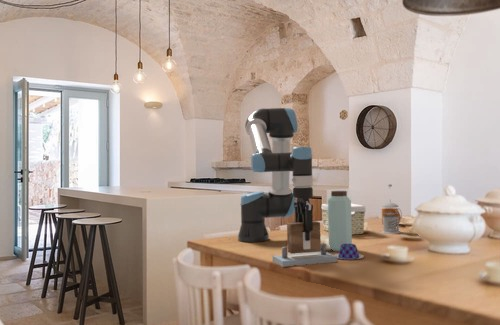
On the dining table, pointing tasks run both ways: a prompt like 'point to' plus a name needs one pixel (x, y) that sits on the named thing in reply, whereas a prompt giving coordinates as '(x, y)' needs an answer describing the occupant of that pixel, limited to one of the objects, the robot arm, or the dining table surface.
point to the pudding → (348, 252)
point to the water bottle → (339, 220)
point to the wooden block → (297, 238)
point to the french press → (391, 219)
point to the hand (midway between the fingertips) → (304, 247)
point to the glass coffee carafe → (387, 210)
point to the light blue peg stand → (304, 257)
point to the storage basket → (356, 218)
